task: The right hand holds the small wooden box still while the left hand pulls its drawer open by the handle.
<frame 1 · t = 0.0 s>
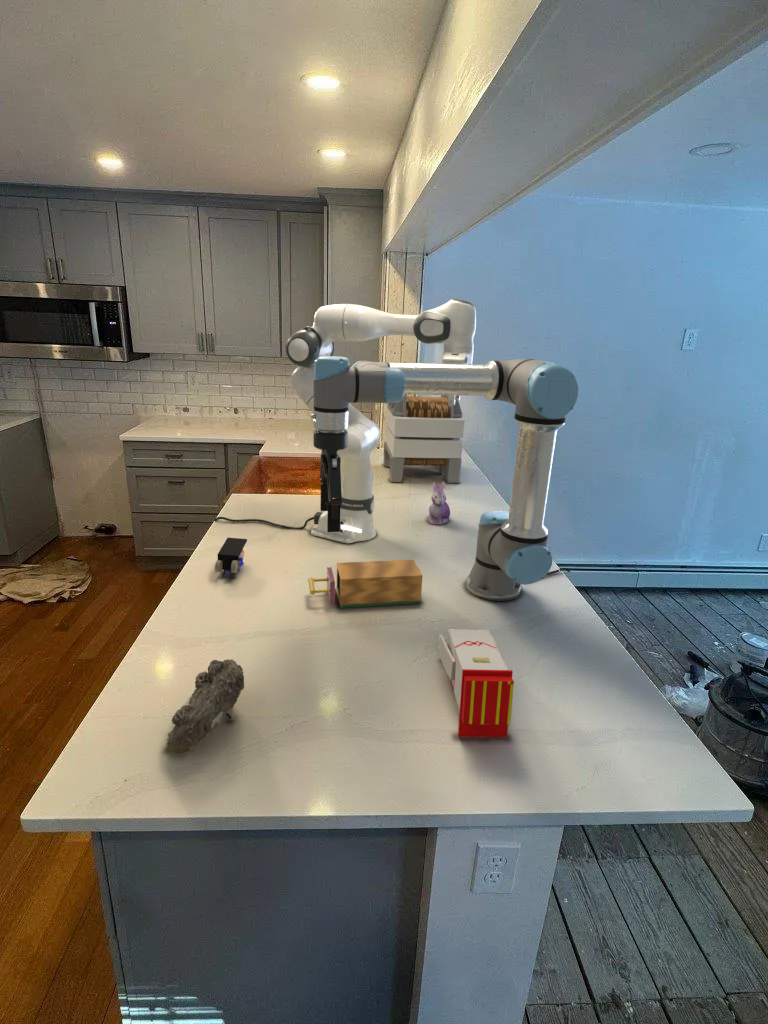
left hand: (454, 403, 174), 48 cm above the counter, tool pointing down, fingers open, 8 cm apart
right hand: (329, 520, 131), 28 cm above the counter, tool pointing down, fingers open, 13 cm apart
figurine: (438, 521, 214), on the counter
toy: (469, 691, 119), on the counter
drawer: (356, 583, 153), point 4 cm above the counter, slide at 1.5 cm
fossil: (212, 717, 108), on the counter
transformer: (419, 473, 275), on the counter
wooden box: (377, 596, 156), on the counter
figurine character: (232, 569, 168), on the counter
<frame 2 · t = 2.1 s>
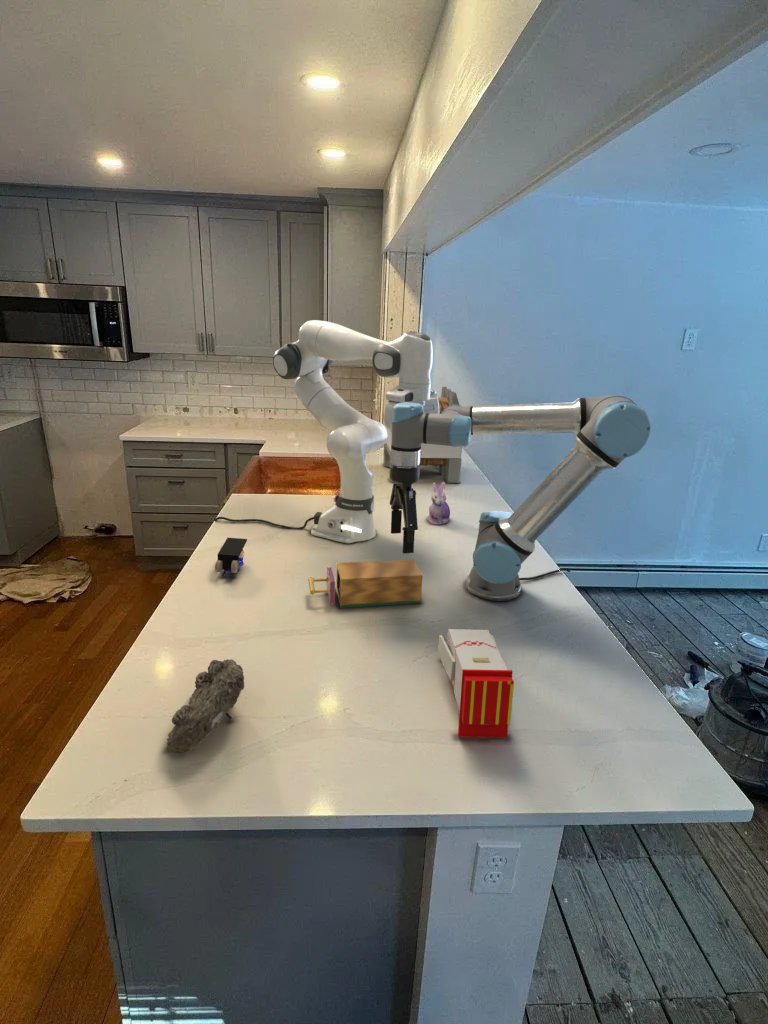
left hand: (411, 441, 164), 39 cm above the counter, tool pointing down, fingers open, 8 cm apart
right hand: (401, 542, 151), 16 cm above the counter, tool pointing down, fingers open, 13 cm apart
nothing on the counter moved.
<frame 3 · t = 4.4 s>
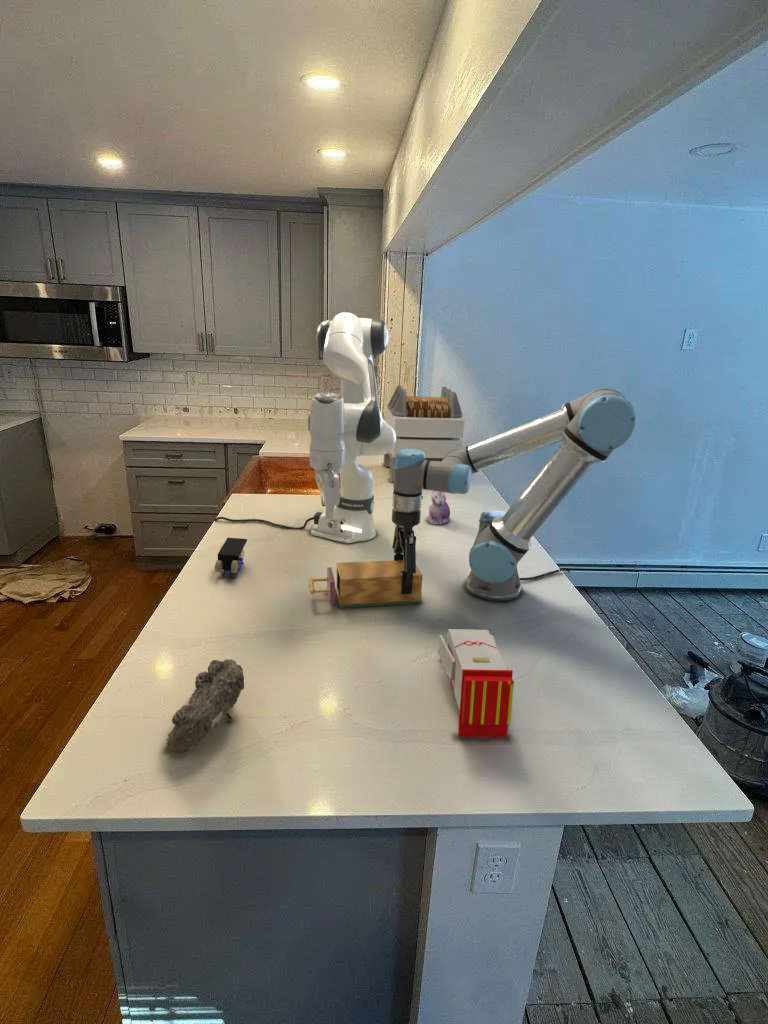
left hand: (326, 511, 146), 25 cm above the counter, tool pointing down, fingers open, 8 cm apart
right hand: (402, 584, 156), 3 cm above the counter, tool pointing down, fingers closed on wooden box, 10 cm apart
wooden box: (377, 596, 156), on the counter, touching right hand
everything else where it was.
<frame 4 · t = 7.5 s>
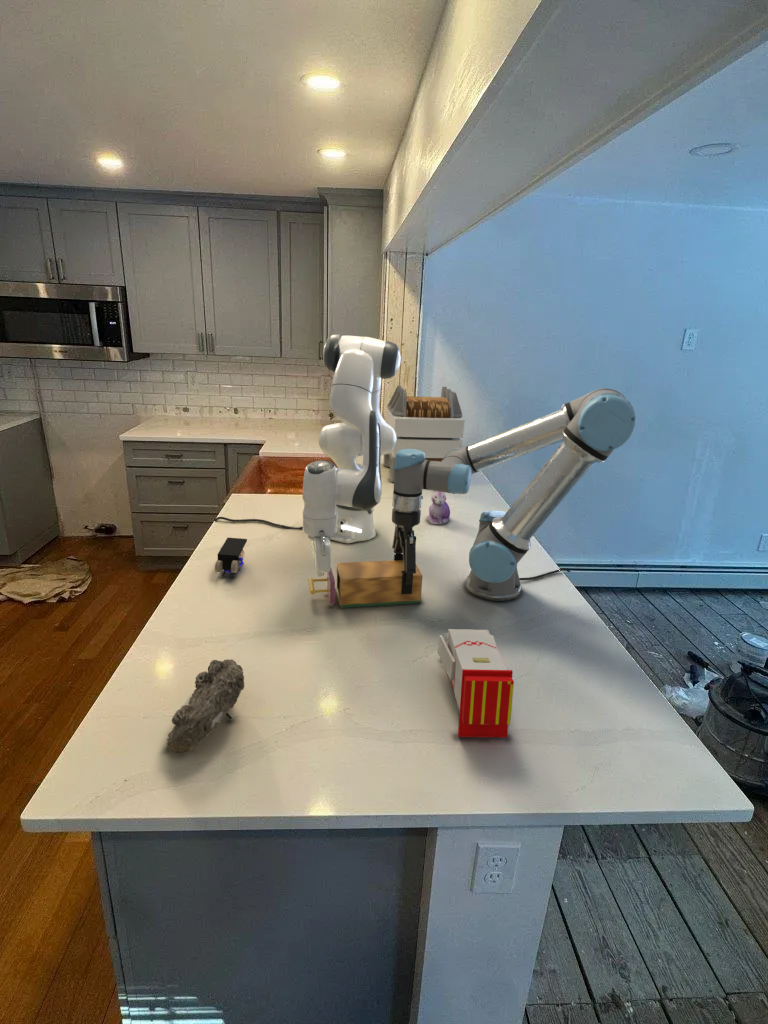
left hand: (319, 573, 150), 8 cm above the counter, tool pointing down, fingers closed
right hand: (402, 584, 156), 3 cm above the counter, tool pointing down, fingers closed on wooden box, 10 cm apart
wooden box: (377, 596, 156), on the counter, touching right hand
everything else where it was.
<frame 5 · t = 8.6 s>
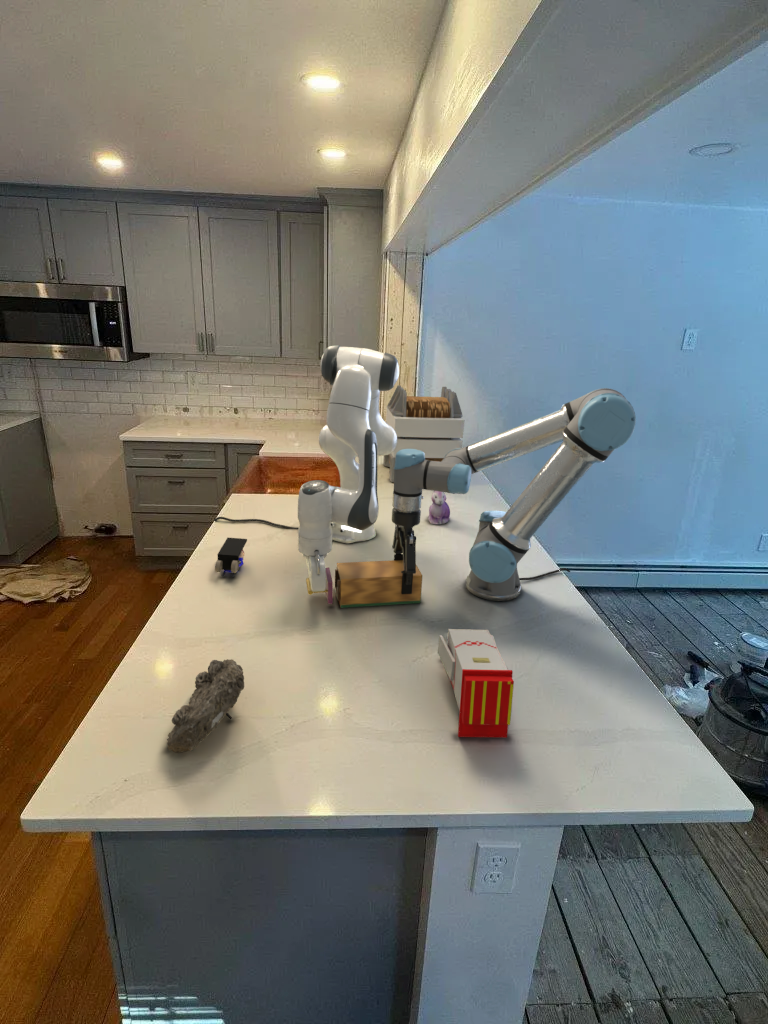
left hand: (315, 590, 152), 3 cm above the counter, tool pointing down, fingers closed, pressing on drawer
right hand: (402, 584, 156), 3 cm above the counter, tool pointing down, fingers closed on wooden box, 10 cm apart
drawer: (354, 583, 153), point 4 cm above the counter, slide at 2.1 cm, touching left hand
wooden box: (377, 596, 156), on the counter, touching right hand
everything else where it was.
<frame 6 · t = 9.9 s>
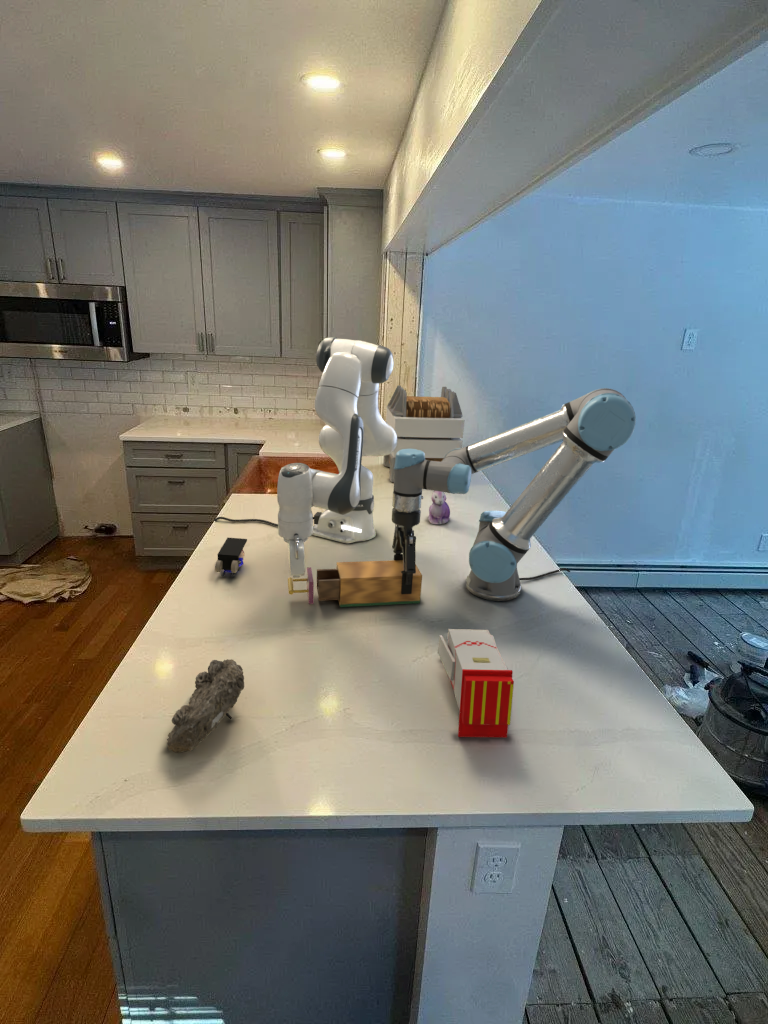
left hand: (296, 575, 150), 7 cm above the counter, tool pointing down, fingers closed
right hand: (401, 584, 156), 3 cm above the counter, tool pointing down, fingers closed on wooden box, 10 cm apart
drawer: (336, 584, 152), point 4 cm above the counter, slide at 6.9 cm
wooden box: (377, 596, 156), on the counter, touching right hand
everything else where it was.
when the right hand's fingers open (3 cm above the counter, at t = 11.0 s): wooden box stays where it is, on the counter.
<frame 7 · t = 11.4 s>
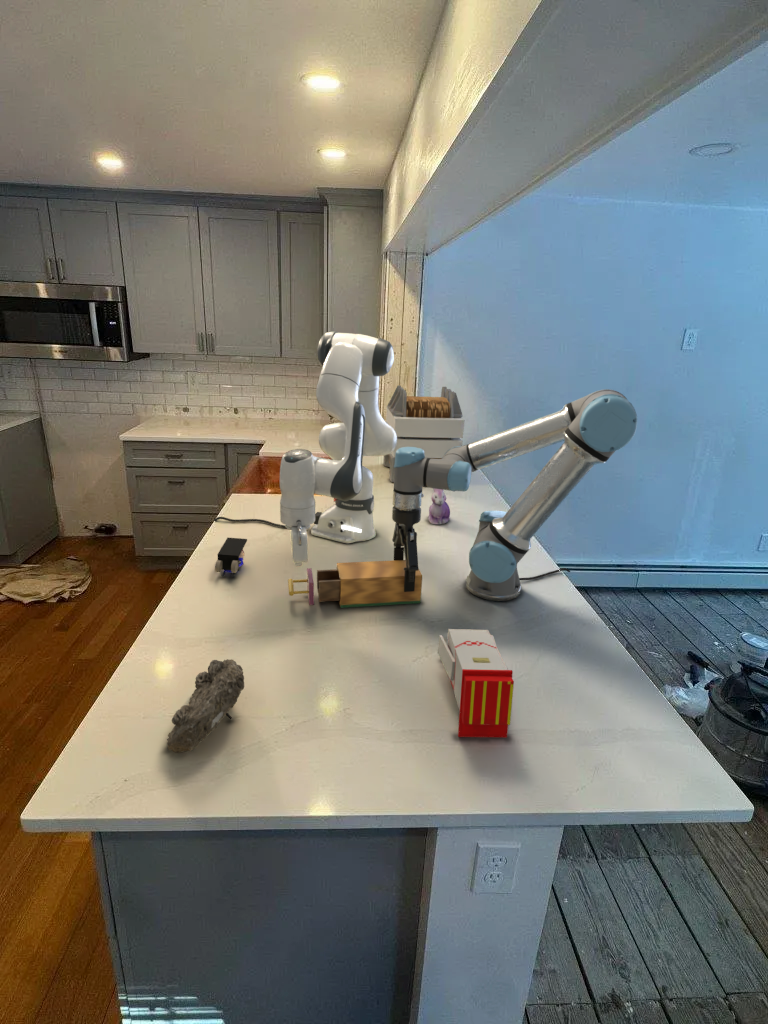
left hand: (298, 563, 148), 11 cm above the counter, tool pointing down, fingers closed
right hand: (403, 579, 156), 5 cm above the counter, tool pointing down, fingers open, 13 cm apart
wooden box: (377, 596, 156), on the counter
everything else where it was.
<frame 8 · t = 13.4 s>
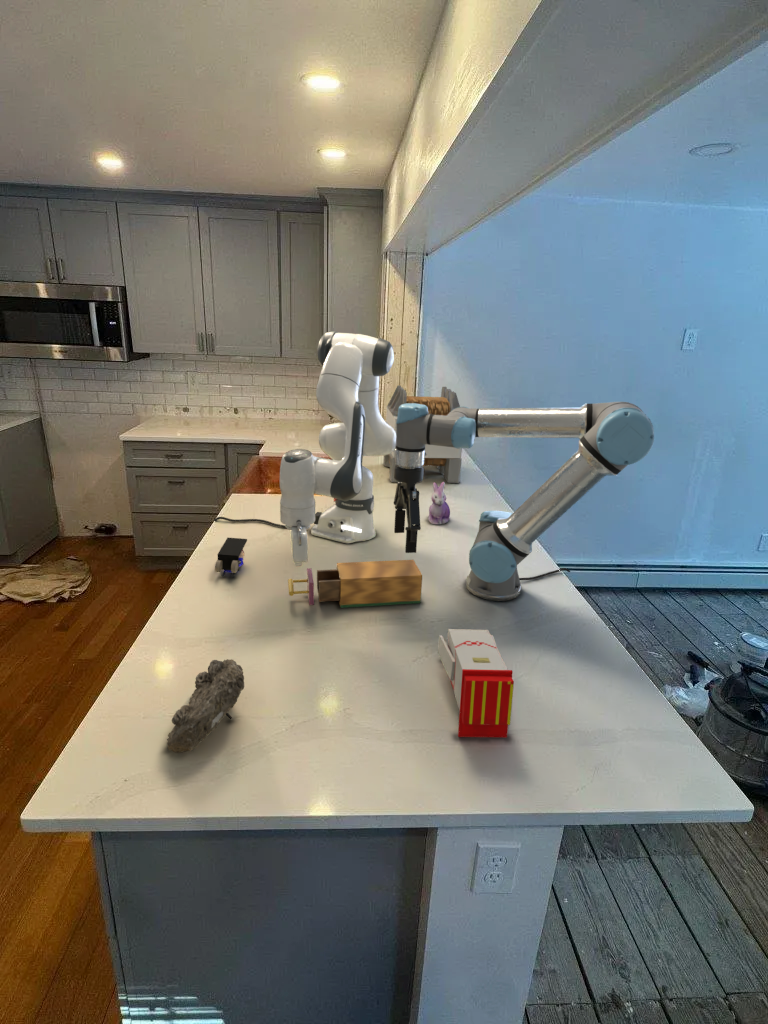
left hand: (298, 563, 148), 11 cm above the counter, tool pointing down, fingers closed
right hand: (404, 542, 152), 16 cm above the counter, tool pointing down, fingers open, 13 cm apart
nothing on the counter moved.
at the end: drawer slide at 6.9 cm; wooden box tilted 0°; wooden box never tilted more than 1° during the clip; wooden box moved 0.0 cm from its start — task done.
